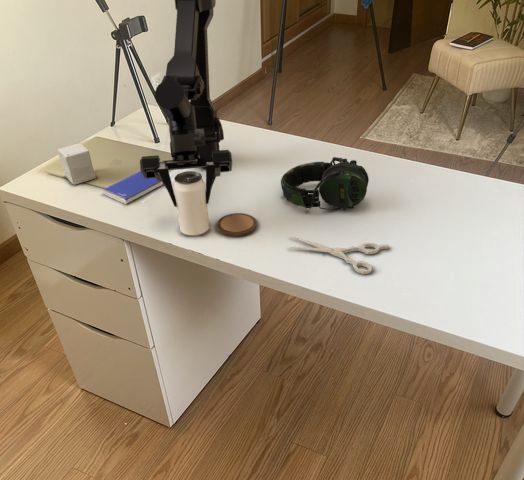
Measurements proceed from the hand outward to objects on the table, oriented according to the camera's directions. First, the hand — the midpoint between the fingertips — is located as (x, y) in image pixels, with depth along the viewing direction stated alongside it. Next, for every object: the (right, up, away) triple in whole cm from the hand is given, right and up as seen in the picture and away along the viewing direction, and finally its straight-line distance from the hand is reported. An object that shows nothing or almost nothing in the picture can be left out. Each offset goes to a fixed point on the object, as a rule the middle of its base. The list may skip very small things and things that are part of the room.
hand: (191, 204), depth 111 cm
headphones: (+29, +5, +13) cm, 32 cm away
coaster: (+9, -3, +6) cm, 11 cm away
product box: (-32, +13, +25) cm, 42 cm away
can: (0, -4, +6) cm, 7 cm away
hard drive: (-17, +9, +20) cm, 27 cm away
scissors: (+30, -11, -2) cm, 32 cm away
